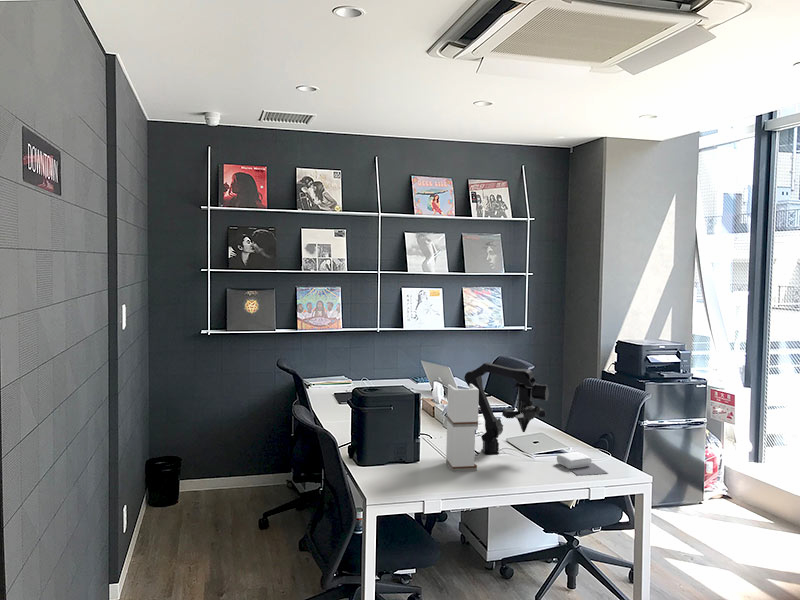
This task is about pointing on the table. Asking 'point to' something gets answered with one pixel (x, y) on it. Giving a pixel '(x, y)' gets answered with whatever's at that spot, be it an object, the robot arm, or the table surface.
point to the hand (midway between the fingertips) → (523, 431)
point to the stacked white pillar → (461, 428)
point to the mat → (588, 470)
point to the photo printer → (573, 460)
